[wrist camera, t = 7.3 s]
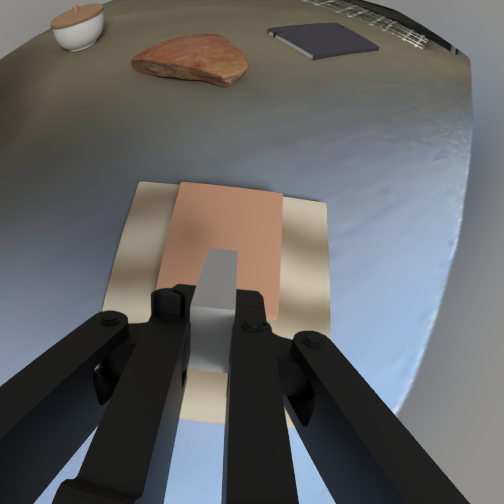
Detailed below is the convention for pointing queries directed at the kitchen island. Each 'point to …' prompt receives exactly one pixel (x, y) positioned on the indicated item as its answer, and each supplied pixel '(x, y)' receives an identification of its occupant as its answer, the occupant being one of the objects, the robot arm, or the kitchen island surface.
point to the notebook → (323, 40)
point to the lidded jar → (79, 27)
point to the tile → (226, 237)
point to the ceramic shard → (194, 59)
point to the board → (290, 294)
